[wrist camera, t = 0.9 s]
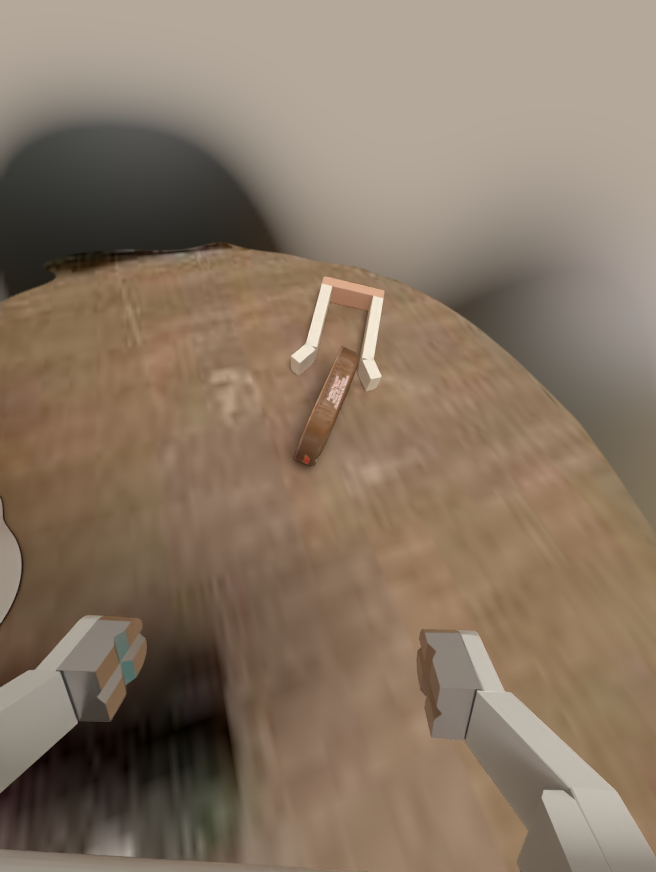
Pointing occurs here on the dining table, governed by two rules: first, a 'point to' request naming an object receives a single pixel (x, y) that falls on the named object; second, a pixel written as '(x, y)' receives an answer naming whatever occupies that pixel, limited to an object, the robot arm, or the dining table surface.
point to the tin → (327, 407)
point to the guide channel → (372, 303)
